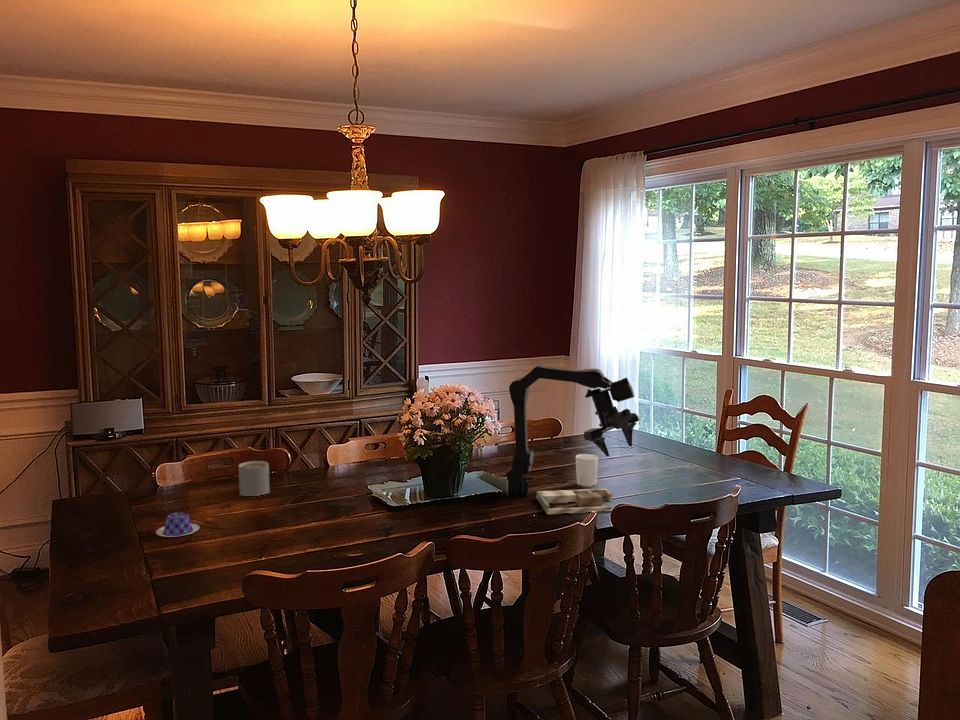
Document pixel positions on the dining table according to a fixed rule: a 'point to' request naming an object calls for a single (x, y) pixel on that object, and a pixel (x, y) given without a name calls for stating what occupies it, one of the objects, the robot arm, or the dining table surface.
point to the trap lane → (571, 500)
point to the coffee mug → (254, 478)
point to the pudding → (177, 525)
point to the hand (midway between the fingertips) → (619, 451)
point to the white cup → (586, 469)
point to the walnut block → (588, 500)
